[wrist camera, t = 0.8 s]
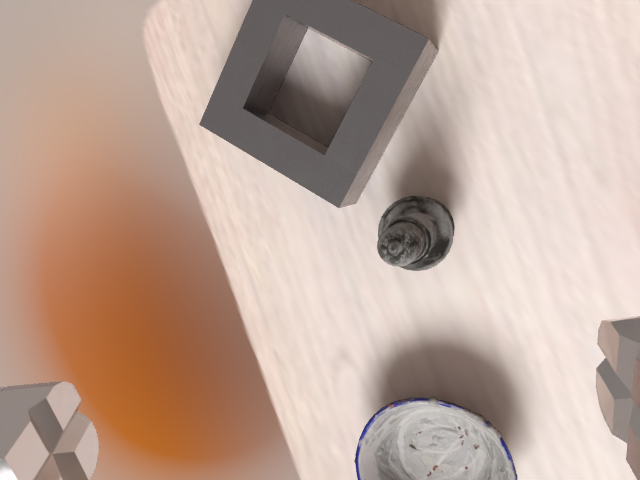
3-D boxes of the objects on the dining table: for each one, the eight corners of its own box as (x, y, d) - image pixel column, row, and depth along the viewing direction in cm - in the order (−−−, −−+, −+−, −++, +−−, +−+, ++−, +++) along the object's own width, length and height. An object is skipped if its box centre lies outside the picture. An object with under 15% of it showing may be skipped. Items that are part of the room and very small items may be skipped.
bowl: (350, 392, 51) (334, 414, 47) (490, 364, 47) (488, 386, 42) (393, 524, 52) (381, 559, 47) (536, 509, 47) (538, 546, 43)
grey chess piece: (385, 195, 48) (345, 206, 36) (456, 191, 46) (436, 201, 34) (389, 263, 48) (351, 295, 37) (459, 262, 46) (441, 295, 35)
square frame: (294, -21, 48) (270, -41, 43) (438, 51, 45) (429, 38, 40) (227, 127, 52) (199, 124, 47) (356, 203, 49) (338, 208, 44)
